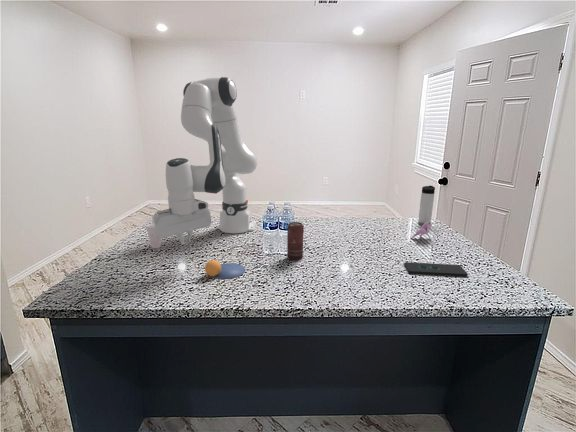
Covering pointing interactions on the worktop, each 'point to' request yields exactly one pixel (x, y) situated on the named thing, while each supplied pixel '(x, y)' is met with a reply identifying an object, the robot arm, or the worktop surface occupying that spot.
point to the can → (295, 241)
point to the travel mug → (426, 204)
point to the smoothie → (153, 235)
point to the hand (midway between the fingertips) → (186, 243)
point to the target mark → (230, 271)
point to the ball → (213, 268)
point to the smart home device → (435, 269)
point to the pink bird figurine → (423, 230)
